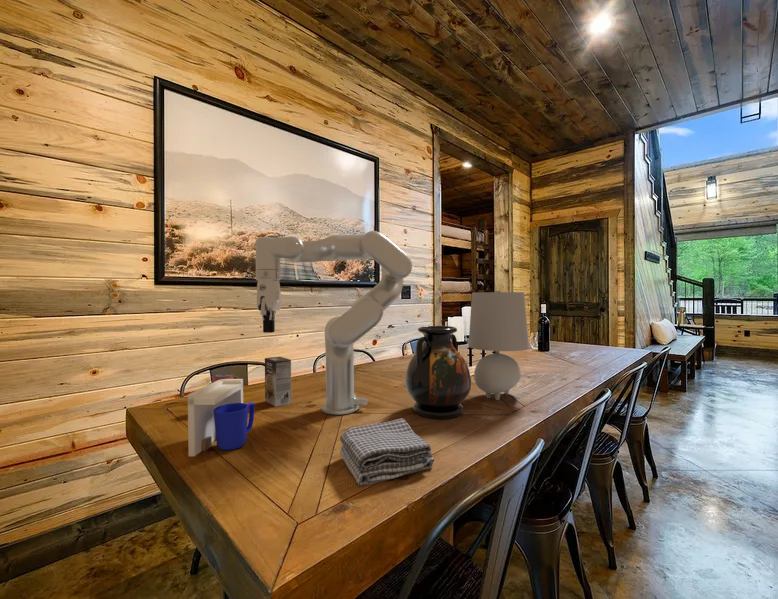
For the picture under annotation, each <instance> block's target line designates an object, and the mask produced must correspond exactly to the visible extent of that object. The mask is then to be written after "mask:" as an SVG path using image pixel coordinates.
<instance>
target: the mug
mask: <svg viewBox="0 0 778 599" xmlns="http://www.w3.org/2000/svg"><path fill="white" fill-rule="evenodd" d="M254 419H255V402H247V403H245V402H243V403H231V404H225V405H221V406H219V407H217V408H215V409H214V421H215V431H216V440H215V441H216V446H217V448H218V449H219V450H222V451H232V450H236V449H239V448H241V447H243V446H244V445H245V444H246V440H247V434H248V433H249V432H250V431H252V428H253V426H254Z"/></svg>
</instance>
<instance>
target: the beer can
mask: <svg viewBox="0 0 778 599" xmlns="http://www.w3.org/2000/svg"><path fill="white" fill-rule="evenodd" d="M233 376H234V375H233V373H230V372H229V373H228V372H223V373H218V374H215V375H214V376H213V377H214V378H213V380H212V381H213V382H216V381H218V380H220V379H235V378H234V377H233ZM213 382H212V383H213Z"/></svg>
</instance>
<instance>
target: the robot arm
mask: <svg viewBox="0 0 778 599" xmlns="http://www.w3.org/2000/svg"><path fill="white" fill-rule="evenodd" d="M254 247H255V281H257V284H256V308H257V310H258V311H260V315H261V316H262V333H264V334H265V333H267V334H269V333H270V334H271V333H275V331H276V328H275V326H276V324H275V323H276V321H275V320H276V318H275V317H276V313H277V311H280V310H281V309H282V293H281V292H282V291H281V284H280V281H281V259H284V260H286V261H287V262H288V263H315V262H334V261H348V260H350V261H351V260H353V261H355V260H356V261H358V260H371V259H372V260H374V261H375V262H377V264H378V265H380V266H381V267H380V268H381V270H380V271H381V278H380V281H379V282H378V283H377V284H376V285H375V286H373V288H372V289H370V290H369V291H368V292H366V293H365V294H364V295H362V296H361V297H360V298H358V299H356V300H355V301H354V302H353V303H352V305H351V307H350V308H349V309H347V311H345V312H344V313H343V314H342V315H340V316H334V317H332V318H330V319H329V320H328V321H327V322H326V324H325V328H324V344H325V345H324V347H325V403H324V404H322V405H321V412H323V413H324V414H326V415H333V416H334V415H335V416H337V415H341V416H342V415H348V414H352V413H355V412H357V411H358V410H359V408H360V407H359V406H360V405H366V406H367V405H368V398H365V397H358V396H356V395H357V394H356V393H355V377H354V376H355V366H354V365H355V364H354V363H355V358H354V356H355V354H354V353H355V352H354V344H355V343H356V342H358V341H359V340H360V339H361V338H362V337H364V336H365V335H366V334H367V333H369V332H370V331H371V330H372V329H373V328H375V327H376V326H377V325H378V324H380V322H381V321H382V318H383V315H384V311H386V309H387V308H389V306H391V305H392V304H393V303H394V302H396V301H397V300H398V298H399V297H400V295H401V293H402V290H403V286H404V279H405V278H407V277H408V276H409V275H411V273H412V270H413V263H412V260H411V258H410V257H409V255H408V254H406V253H405V252H404V251H403V250H402V249H401V248H399V247H398V246H397V245H396V244H395V243H394V242H392V241H391V240H390V239H389V238H388V237H386V235H384V234H382V233H381V232H379V231H377V230H370V231H367V232H366V233H365V234H337V235H336V234H334V235H330V236H326V237H324V238H321V239H317V240H307V241H306V240H301V239H300V238H299V237H296V236H284V237H283V236H282V237H273V236H260V237H257V238H256V239H255V246H254Z"/></svg>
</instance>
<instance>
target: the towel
mask: <svg viewBox="0 0 778 599" xmlns="http://www.w3.org/2000/svg"><path fill="white" fill-rule="evenodd" d="M339 440H340V443H341V444H342V446H341V447H340V449H339V454H340V456H341V458H342V460H343V462H344V463H345V464H346V467H347V468H348V470H349V472H350V473H351V475H353V477H354V479H355V481H356V483H357V485H358V486H369V485H375V484H377V483H381V482H385V481H389V480H393V479H396V478H400V477H403V476H406V475H409V474H413V473H417V472H421V471H425V470H426V471H427V470H430V469H432V468H433V464H434V462H435V458H433V455H432V448H431V447H432V446H431V445H430V444H429V443H428V442H427V441H425V440H424V439H423V438H422V437H421V436H419V435H418V434H417V433H415V431H414V430H413V428H411V425H409V423H408V421H406V420H405V418H397V419H393V420H390V421H384V422H377V423H373V424H372V423H370V424H367V425H360V426H354V427H353V426H352V427H351V428H348V429H346V430H345V431H344V432H343V433H342V434H341V435H340V436H339Z"/></svg>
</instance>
